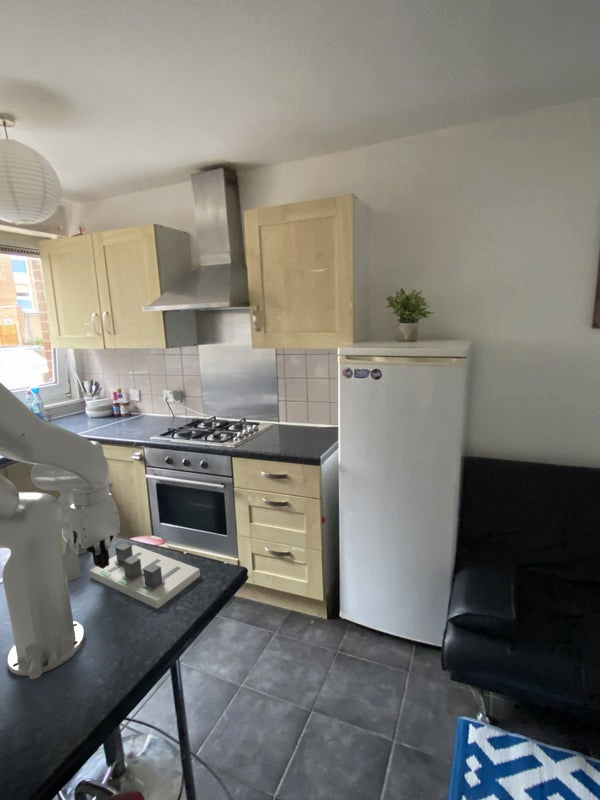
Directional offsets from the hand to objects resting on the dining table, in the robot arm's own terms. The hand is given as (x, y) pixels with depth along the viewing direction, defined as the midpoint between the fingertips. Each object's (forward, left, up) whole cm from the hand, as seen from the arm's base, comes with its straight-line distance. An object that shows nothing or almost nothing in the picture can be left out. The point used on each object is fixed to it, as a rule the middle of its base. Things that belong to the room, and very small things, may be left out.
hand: (102, 565), depth 98 cm
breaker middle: (-5, -6, -2) cm, 8 cm away
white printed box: (+9, +7, -5) cm, 12 cm away
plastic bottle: (+19, +5, -5) cm, 20 cm away
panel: (-3, -9, -4) cm, 10 cm away
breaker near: (-11, -10, -2) cm, 15 cm away
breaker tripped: (+3, -5, -2) cm, 6 cm away
